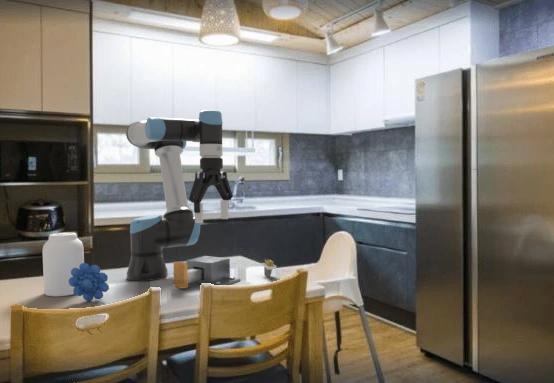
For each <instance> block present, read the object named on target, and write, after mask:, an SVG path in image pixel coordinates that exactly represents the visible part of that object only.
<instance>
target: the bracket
mask: <svg viewBox="0 0 554 383" xmlns="http://www.w3.org/2000/svg"><path fill="white" fill-rule="evenodd" d="M185 262H186V263H187V270H189V269H193V268H197V267H201V268H204V279H201V280H198V281H194V282H191V283H190V284H198V285H202V284H201V283H211V284H214V285H226V286H229V285H231V284H235V283H238V282H240V281H241V278H239V277H238V278H237V277H234V276H231V270H230V268H231V267H230V266H231V263H230V262H231V261H230V258H229V257H221V256H219V257H218V256H212V255H211V256H210V255H203V256H198V257H194V258H190V259H189V258H188V259H186V261H185Z"/></svg>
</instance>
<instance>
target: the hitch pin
mask: <svg viewBox="0 0 554 383" xmlns="http://www.w3.org/2000/svg"><path fill="white" fill-rule="evenodd" d="M172 263H173V287H175V288H180V289H187V288H189V286H188V285H189V284H192V283H191V282H194V281H198V280H201V279H204V268H201V267H197V268H193V269H189V270H187V263H186V261H185V262H184V261H177V260H176V261H173V262H172Z"/></svg>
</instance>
